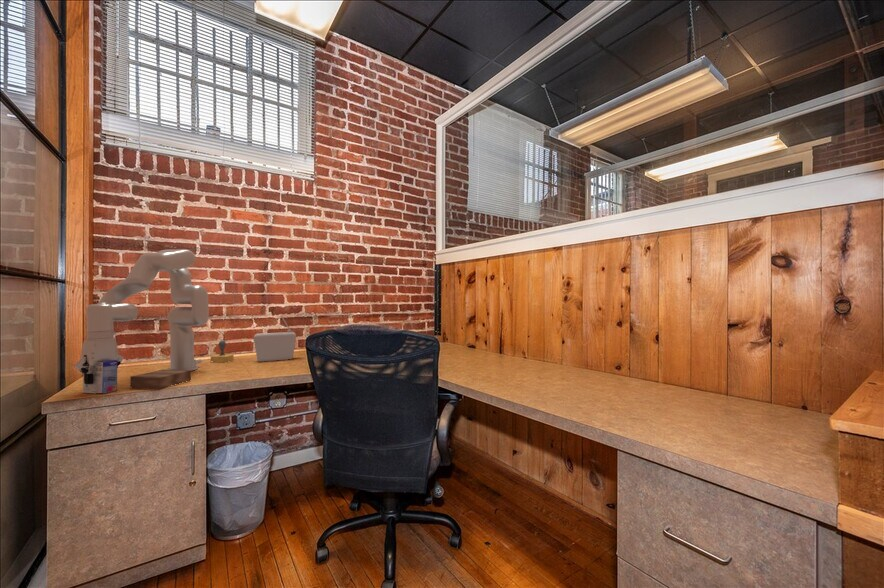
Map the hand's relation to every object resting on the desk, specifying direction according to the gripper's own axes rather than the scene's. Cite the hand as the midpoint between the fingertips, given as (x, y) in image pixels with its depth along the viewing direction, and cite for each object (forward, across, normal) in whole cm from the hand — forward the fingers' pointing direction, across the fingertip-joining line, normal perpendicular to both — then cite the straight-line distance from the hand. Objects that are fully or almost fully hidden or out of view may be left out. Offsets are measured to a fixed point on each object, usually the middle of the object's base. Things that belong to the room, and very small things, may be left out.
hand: (100, 381), depth 136 cm
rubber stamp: (+4, -63, -3) cm, 63 cm away
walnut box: (+4, -14, +13) cm, 19 cm away
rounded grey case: (+4, -72, +24) cm, 76 cm away
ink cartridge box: (+4, 0, 0) cm, 4 cm away
